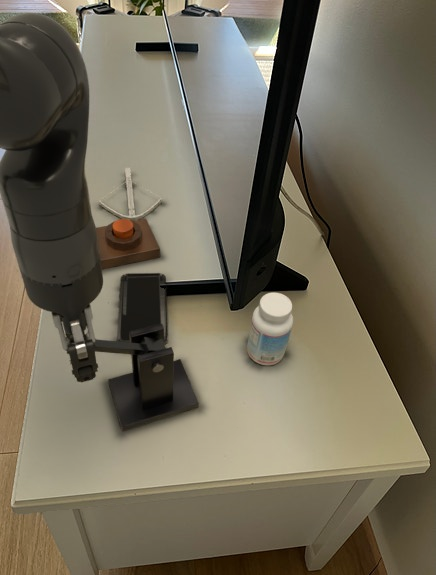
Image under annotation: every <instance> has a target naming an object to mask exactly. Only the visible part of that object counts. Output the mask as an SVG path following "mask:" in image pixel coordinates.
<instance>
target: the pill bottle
mask: <svg viewBox="0 0 436 575" xmlns="http://www.w3.org/2000/svg"><path fill="white" fill-rule="evenodd" d="M292 309H293V304H292V301H291V299H290V298H289V297H288V296H286V295H285V294H283V293H280V292H268V293H266V294H264V295H263V296H261V298H260V300H259V304H258V305H257V307H255V309H254V310H253V313H252V316H251V322H250V327H249V333H248V339H247V345H246V351H247V354H248V356H249V358H250V359H251V360H252V361H254V362H255V363H257V364H259V365H261V366H262V365H263V366H273V365H276V364H278V363H279V362H281V361H282V359H283V358H284V356H285V353H286V350H287V346H288V343H289V340H290V335H291V332H292V329H293V325H294V317H293V314H292V311H293V310H292Z"/></svg>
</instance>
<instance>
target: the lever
mask: <svg viewBox="0 0 436 575" xmlns="http://www.w3.org/2000/svg"><path fill="white" fill-rule="evenodd" d="M69 336H70V338H73V335H69ZM165 348H167V347H166V344H164V342H163V339H159V338H150V337H144V338H143V339H142V341H141V342H140V343H129V342H119V341H118V340H109V339H108V340H106V339H97V338H95V347H94V349H95V353H107V354H121V355H131V354H132V355H138V356H139V355H143V354H147V353H150V352H154V351H158V350H162V349H165Z"/></svg>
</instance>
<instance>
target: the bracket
mask: <svg viewBox="0 0 436 575" xmlns="http://www.w3.org/2000/svg"><path fill="white" fill-rule="evenodd" d="M129 336H130V343H140V342H141V341H142V339H143V338H144V337H150V338H159V339H163V342H164V327H163V324H162V323H161V324H157V325H153V326H149V327H145V328H141V329H137V330H133V331H129ZM130 360H131V368H132V372H129V373H125V374H121V375H119V376H114V377H111V378H108V380H107V381H108V386H109V389H110V393H111V396H112V400H113V403H114V407H115V410H116V414H117V417H118V420H119V424H120V427H121V431H122V432H125V431H127V430H131V429H134V428H137V427H140V426H143V425H146V424H150V423H153V422H156V421H159V420H162V419H163V420H164V419H166V418H169V417H172V416H175V415H179V414H183V413H185V412H188V411H191V410H194V409H195V410H196V409H198V408H199V401H198V398H197V396H196V394H195V391H194V389H193V386H192V383H191V381H190V378H189V377H188V373H187V371H186V369H185V366H184V364H183V361H182V359H180V358H179V359H176V360H175V352H174V349H173V347H172V346H170V347H166V348H165V349H162V350H158V351H154V352H150V353H147V354H143V355H139V356H138V355H132V354H130Z"/></svg>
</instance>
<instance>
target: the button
mask: <svg viewBox="0 0 436 575" xmlns="http://www.w3.org/2000/svg"><path fill="white" fill-rule="evenodd" d="M114 221H115V222H114ZM114 221H113V222H114V223H113V234H114V236H115V237H117V238H120V239H126V238H130V237H131V236H132V235H133V233H134V232H133V223H132V222H131V221H132V220H131V221H130V220H127V219H122V218H119V219H116V220H114Z"/></svg>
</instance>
